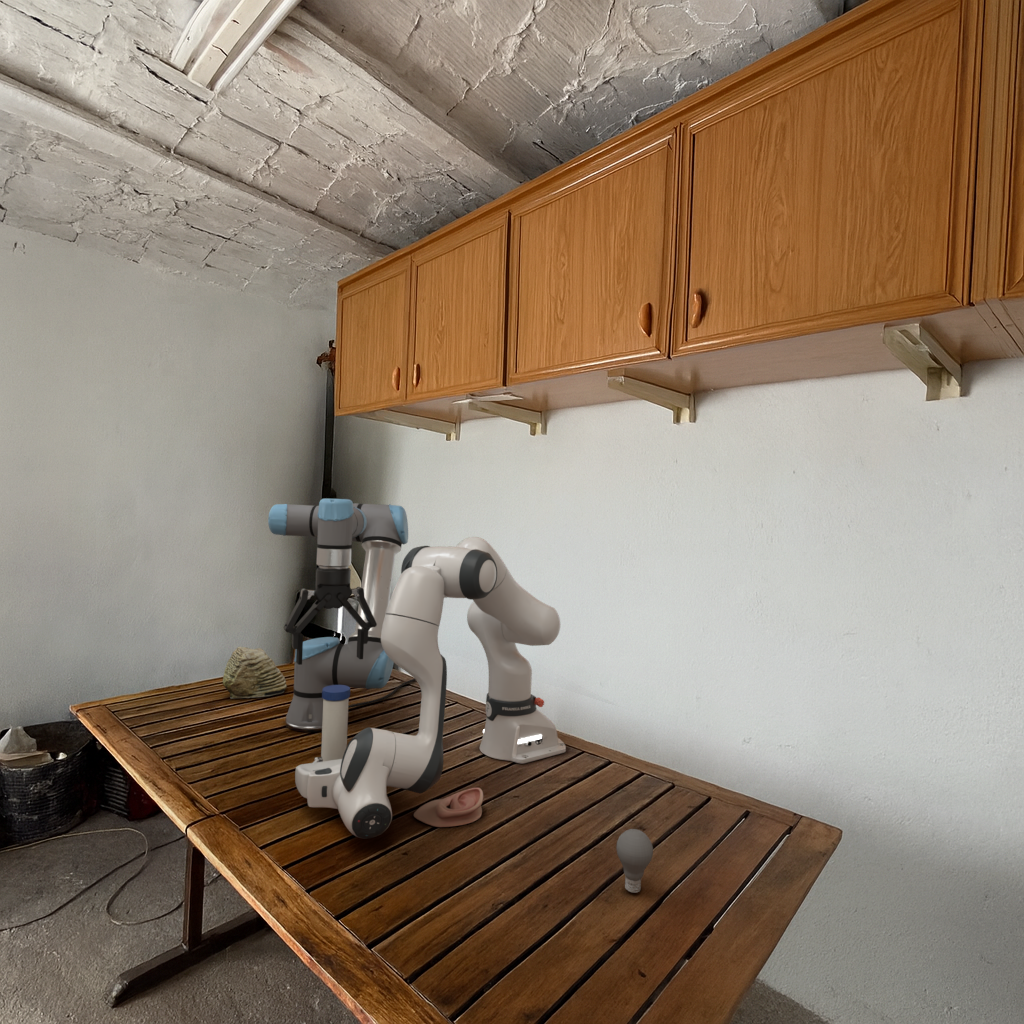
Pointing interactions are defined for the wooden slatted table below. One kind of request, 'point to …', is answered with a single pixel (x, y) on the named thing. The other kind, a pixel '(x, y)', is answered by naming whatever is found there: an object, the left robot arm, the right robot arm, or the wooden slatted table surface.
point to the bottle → (334, 729)
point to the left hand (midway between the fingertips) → (330, 660)
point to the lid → (336, 692)
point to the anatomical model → (452, 809)
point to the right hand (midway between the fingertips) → (340, 757)
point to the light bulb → (634, 857)
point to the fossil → (252, 674)
